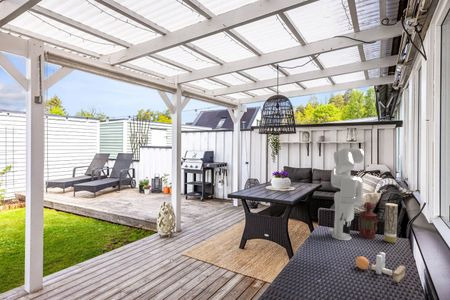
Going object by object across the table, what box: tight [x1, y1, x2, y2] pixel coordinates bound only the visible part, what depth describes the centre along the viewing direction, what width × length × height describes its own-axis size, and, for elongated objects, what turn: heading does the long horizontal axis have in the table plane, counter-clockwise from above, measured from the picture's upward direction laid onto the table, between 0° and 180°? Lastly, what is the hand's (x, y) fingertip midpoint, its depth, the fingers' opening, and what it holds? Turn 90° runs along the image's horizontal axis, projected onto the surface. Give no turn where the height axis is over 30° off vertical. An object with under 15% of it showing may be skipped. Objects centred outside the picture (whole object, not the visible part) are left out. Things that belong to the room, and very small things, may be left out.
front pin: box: [371, 263, 393, 277], centre depth 128 cm, size 2×2×8 cm
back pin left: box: [379, 251, 386, 269], centre depth 130 cm, size 2×2×8 cm
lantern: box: [357, 193, 378, 240], centre depth 183 cm, size 12×12×30 cm
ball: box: [355, 255, 370, 270], centre depth 131 cm, size 6×6×6 cm
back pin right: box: [375, 254, 383, 275], centre depth 126 cm, size 2×2×8 cm
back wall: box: [392, 264, 406, 284], centre depth 122 cm, size 2×12×4 cm, turn 133°
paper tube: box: [383, 202, 399, 244], centre depth 174 cm, size 7×7×25 cm
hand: (346, 233), depth 141 cm, fingers closed
